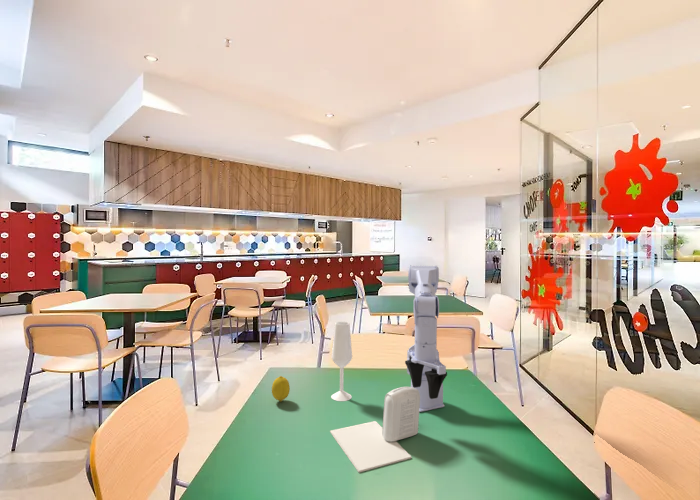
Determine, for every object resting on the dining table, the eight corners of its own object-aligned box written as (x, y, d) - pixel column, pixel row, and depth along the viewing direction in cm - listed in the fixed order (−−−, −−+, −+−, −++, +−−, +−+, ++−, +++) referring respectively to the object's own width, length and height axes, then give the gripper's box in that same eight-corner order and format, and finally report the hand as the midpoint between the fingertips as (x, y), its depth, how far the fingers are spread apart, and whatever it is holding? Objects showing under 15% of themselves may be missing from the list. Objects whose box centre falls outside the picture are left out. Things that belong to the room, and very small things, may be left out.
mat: (375, 422, 99) (375, 420, 99) (411, 458, 83) (411, 456, 83) (330, 432, 94) (330, 430, 94) (358, 472, 78) (358, 470, 78)
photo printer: (409, 427, 97) (411, 381, 97) (420, 434, 93) (423, 387, 93) (379, 436, 91) (382, 388, 91) (390, 444, 88) (393, 394, 88)
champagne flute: (353, 393, 119) (354, 321, 118) (349, 402, 112) (350, 326, 112) (333, 391, 120) (334, 320, 119) (329, 400, 113) (329, 325, 113)
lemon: (268, 403, 110) (268, 377, 110) (278, 396, 116) (278, 372, 115) (283, 406, 108) (283, 380, 108) (292, 399, 113) (293, 374, 113)
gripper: (398, 336, 100) (397, 384, 100) (429, 350, 86) (428, 406, 87) (419, 333, 103) (418, 380, 103) (452, 347, 89) (452, 401, 89)
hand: (424, 392), depth 95 cm, fingers open, 7 cm apart
